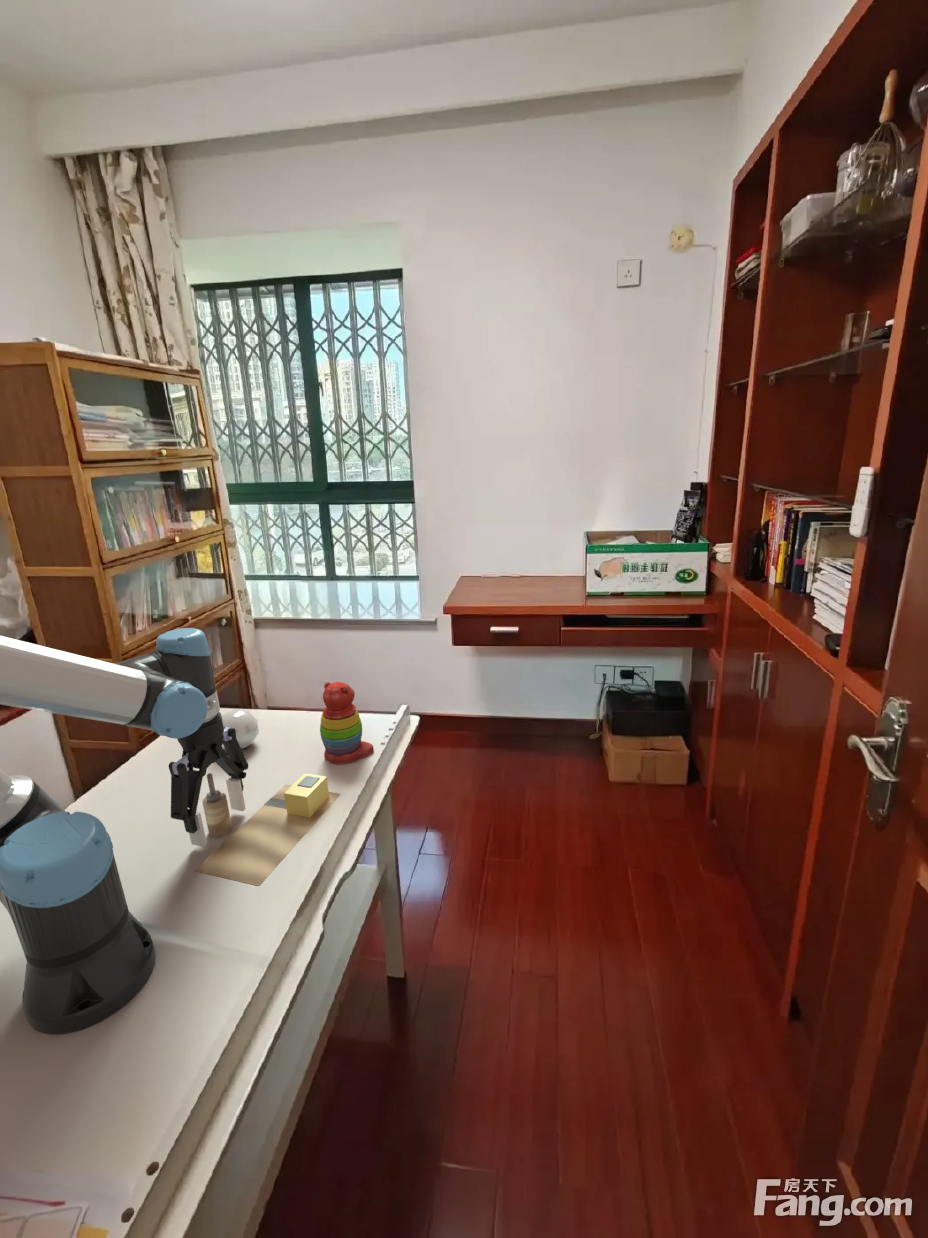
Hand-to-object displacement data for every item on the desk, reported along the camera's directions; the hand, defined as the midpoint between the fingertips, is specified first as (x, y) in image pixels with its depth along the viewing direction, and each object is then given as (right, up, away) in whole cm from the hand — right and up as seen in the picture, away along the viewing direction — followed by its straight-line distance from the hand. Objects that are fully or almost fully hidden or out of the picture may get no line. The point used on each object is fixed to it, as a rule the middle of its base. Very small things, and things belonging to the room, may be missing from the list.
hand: (219, 825), depth 107 cm
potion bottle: (-11, +7, +32) cm, 35 cm away
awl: (0, -2, +1) cm, 2 cm away
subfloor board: (+10, -2, 0) cm, 10 cm away
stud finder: (+15, +2, +7) cm, 16 cm away
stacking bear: (+18, +7, +27) cm, 33 cm away
